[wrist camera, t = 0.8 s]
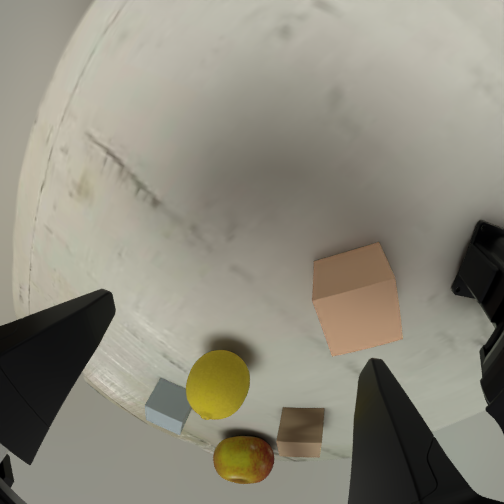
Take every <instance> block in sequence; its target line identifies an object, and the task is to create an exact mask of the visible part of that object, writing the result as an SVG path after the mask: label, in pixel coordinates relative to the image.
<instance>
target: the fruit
mask: <svg viewBox="0 0 504 504" xmlns="http://www.w3.org/2000/svg"><path fill="white" fill-rule="evenodd" d="M213 461H214V467H215V469H216V471H217V473H218V474H219V475H220V476H221V477H222V478H224V479H225V480H228V481H231V482H235V483H239V484H250V483H257V482H260V481H262V480H264V479H265V478H266V477H267V476H268V475H269V473H270V472H271V470H272V468H273V464H274V453H273V450H272V448H271V447H270V445H269V444H268V443H267V442H265V441H264V440H262V439H260V438H257V437H251V436H237V437H231V438H227V439H224V440H222V441H221V442H220V443H219V444H218V445H217V447H216V448H215V451H214V456H213Z"/></svg>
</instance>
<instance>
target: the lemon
mask: <svg viewBox="0 0 504 504" xmlns="http://www.w3.org/2000/svg"><path fill="white" fill-rule="evenodd" d="M249 385H250V374H249V371H248V368H247V366H246V364H245V362H244V361H243V360H242V359H241V358H240V357H239V356H238V355H236V354H234V353H232V352H230V351H226V350H215V351H211V352H208V353H206V354H204V355H203V356H202V357H201V358H199V359H198V360H197V361H196V363H195V364H194V365H193V367H192V369H191V371H190V374H189V376H188V379H187V384H186V396H187V400H188V402H189V404H190V406H191V407H192V408H193V410H194V411H195V412H196V413H198V414H199V415H200V416H201V418H203V419H205V420H209V419H223V418H226V417H229V416H231V415H232V414H234V413H235V412H236V411H237V410H238V409H239V408H240V407H241V405H242V404H243V402H244V400H245V398H246V396H247V393H248V390H249Z"/></svg>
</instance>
